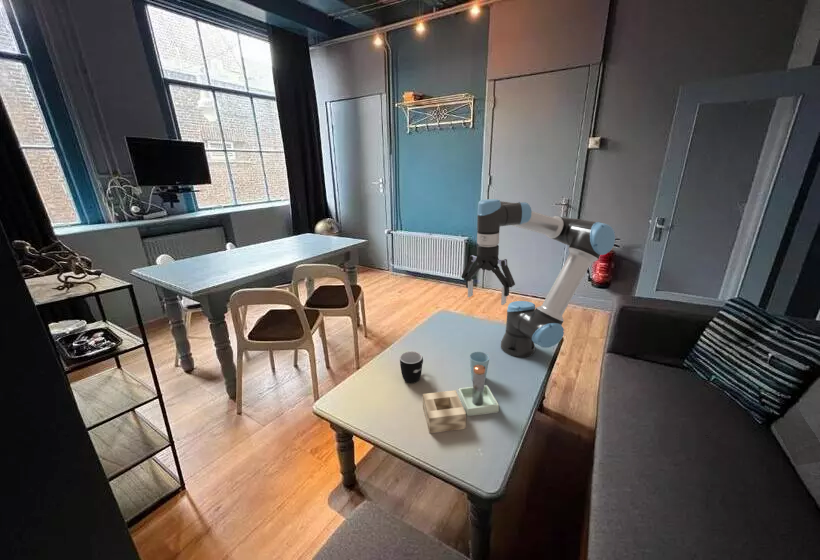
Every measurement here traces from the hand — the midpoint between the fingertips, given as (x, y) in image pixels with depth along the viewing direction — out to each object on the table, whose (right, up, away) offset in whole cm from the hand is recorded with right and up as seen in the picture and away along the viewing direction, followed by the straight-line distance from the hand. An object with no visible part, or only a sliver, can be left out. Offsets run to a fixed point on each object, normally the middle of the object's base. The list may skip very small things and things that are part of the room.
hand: (486, 299), depth 122 cm
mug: (-27, -33, +12) cm, 44 cm away
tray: (-4, -37, -4) cm, 38 cm away
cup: (-1, -33, +10) cm, 34 cm away
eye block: (-17, -40, -10) cm, 45 cm away
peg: (-4, -37, -4) cm, 37 cm away
